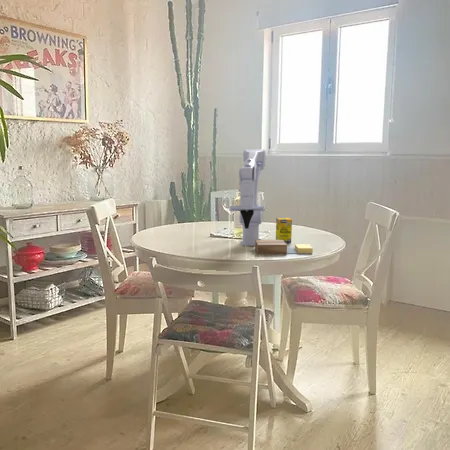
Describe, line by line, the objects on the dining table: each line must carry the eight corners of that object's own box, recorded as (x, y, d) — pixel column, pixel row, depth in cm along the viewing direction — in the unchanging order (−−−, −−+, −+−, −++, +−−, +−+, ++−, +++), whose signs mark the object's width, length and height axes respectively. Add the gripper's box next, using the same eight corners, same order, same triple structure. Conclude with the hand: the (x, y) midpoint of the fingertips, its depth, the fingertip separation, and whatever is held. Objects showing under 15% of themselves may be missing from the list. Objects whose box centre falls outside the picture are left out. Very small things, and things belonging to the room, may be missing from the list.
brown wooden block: (254, 248, 210) (255, 239, 209) (282, 248, 210) (282, 239, 210) (257, 254, 199) (258, 244, 198) (286, 254, 199) (287, 244, 199)
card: (308, 244, 209) (308, 248, 209) (294, 244, 208) (294, 248, 209) (312, 248, 201) (312, 252, 201) (298, 248, 201) (298, 252, 201)
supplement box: (279, 243, 222) (279, 219, 220) (275, 240, 228) (276, 217, 226) (291, 242, 223) (292, 219, 221) (287, 240, 229) (288, 217, 227)
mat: (283, 248, 211) (283, 247, 211) (305, 248, 212) (305, 247, 212) (287, 253, 200) (287, 253, 200) (311, 253, 201) (311, 253, 201)
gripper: (230, 196, 196) (230, 229, 199) (265, 196, 197) (265, 229, 200) (229, 195, 203) (228, 226, 205) (263, 195, 204) (262, 226, 207)
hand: (246, 228), depth 203 cm, fingers closed
